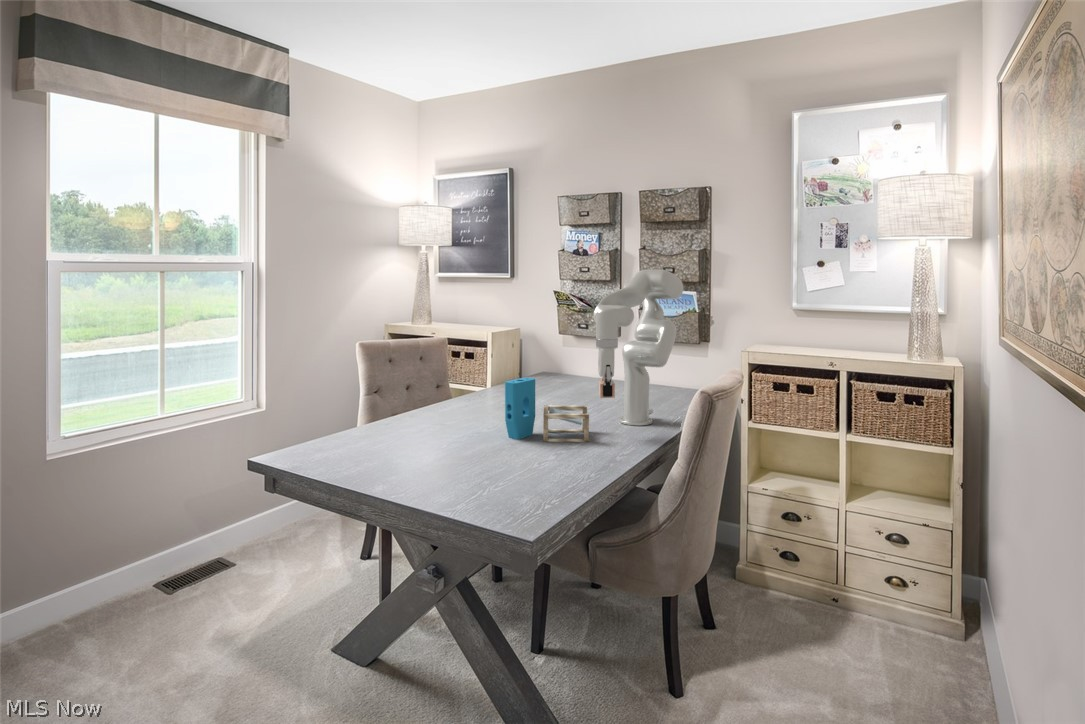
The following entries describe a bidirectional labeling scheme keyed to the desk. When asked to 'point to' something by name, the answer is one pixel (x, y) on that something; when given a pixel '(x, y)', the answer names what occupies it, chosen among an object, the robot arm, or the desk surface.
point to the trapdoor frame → (566, 416)
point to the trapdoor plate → (555, 411)
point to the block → (520, 407)
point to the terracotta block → (602, 389)
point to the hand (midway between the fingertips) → (606, 394)
